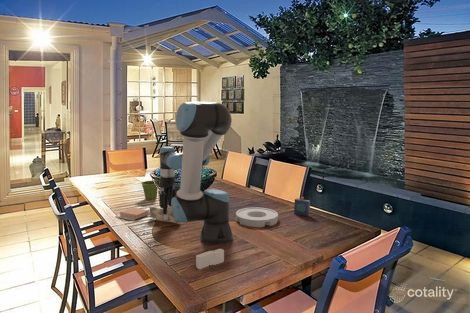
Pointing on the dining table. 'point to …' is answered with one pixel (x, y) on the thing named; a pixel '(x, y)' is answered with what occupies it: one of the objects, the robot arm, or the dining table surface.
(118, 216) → the mat
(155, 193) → the plant pot
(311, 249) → the dining table surface
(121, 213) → the tile
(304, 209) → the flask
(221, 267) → the dining table surface
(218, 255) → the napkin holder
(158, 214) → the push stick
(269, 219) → the ashtray
